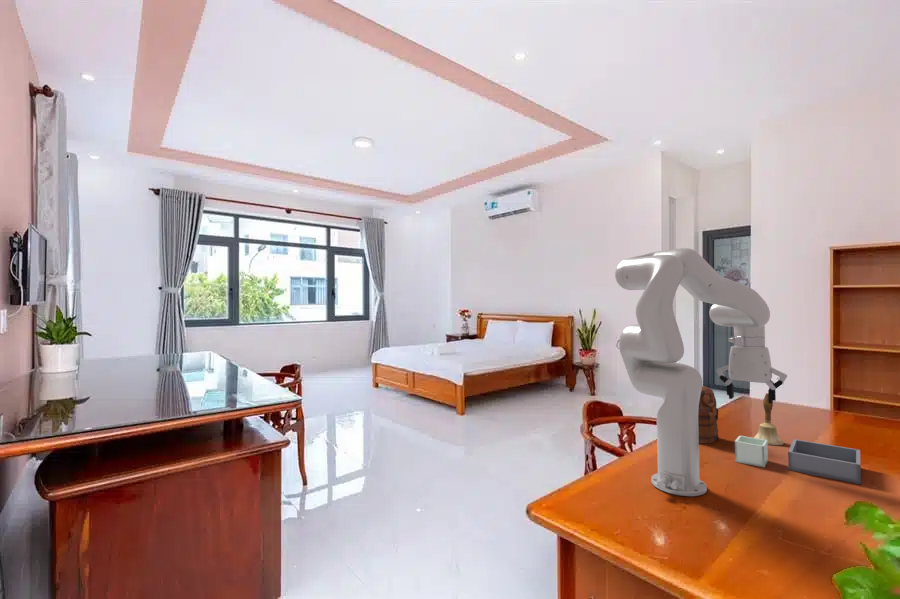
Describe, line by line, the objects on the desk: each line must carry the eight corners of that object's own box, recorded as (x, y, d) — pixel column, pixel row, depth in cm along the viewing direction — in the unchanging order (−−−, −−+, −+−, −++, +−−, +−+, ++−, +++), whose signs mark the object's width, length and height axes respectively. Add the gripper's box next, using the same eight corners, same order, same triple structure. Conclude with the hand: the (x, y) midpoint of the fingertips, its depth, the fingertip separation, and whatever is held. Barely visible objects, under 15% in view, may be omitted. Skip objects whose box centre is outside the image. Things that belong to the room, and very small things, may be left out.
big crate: (860, 484, 110) (860, 465, 110) (788, 469, 120) (788, 452, 120) (860, 467, 121) (860, 449, 121) (793, 455, 131) (793, 439, 131)
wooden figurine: (707, 445, 141) (706, 390, 141) (687, 441, 146) (686, 387, 146) (722, 438, 148) (721, 385, 148) (702, 433, 153) (701, 383, 153)
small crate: (764, 467, 122) (763, 446, 122) (735, 461, 127) (734, 441, 127) (768, 460, 127) (767, 440, 127) (739, 455, 132) (739, 435, 132)
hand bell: (773, 437, 148) (772, 390, 148) (789, 445, 140) (788, 396, 140) (747, 437, 149) (746, 390, 149) (762, 445, 140) (761, 396, 140)
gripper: (712, 342, 131) (713, 398, 131) (784, 345, 119) (786, 407, 119) (718, 339, 136) (719, 394, 136) (787, 342, 124) (789, 402, 124)
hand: (750, 400), depth 127 cm, fingers open, 9 cm apart
